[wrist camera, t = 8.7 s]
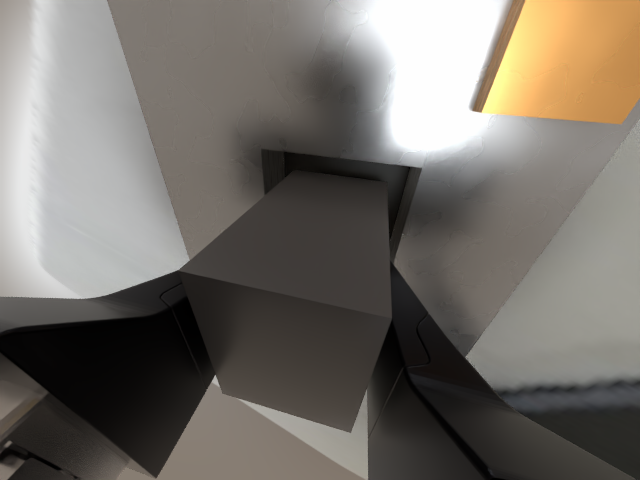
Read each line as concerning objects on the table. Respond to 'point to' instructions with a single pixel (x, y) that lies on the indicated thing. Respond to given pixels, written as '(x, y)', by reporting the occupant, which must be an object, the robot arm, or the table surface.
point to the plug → (298, 297)
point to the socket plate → (394, 119)
